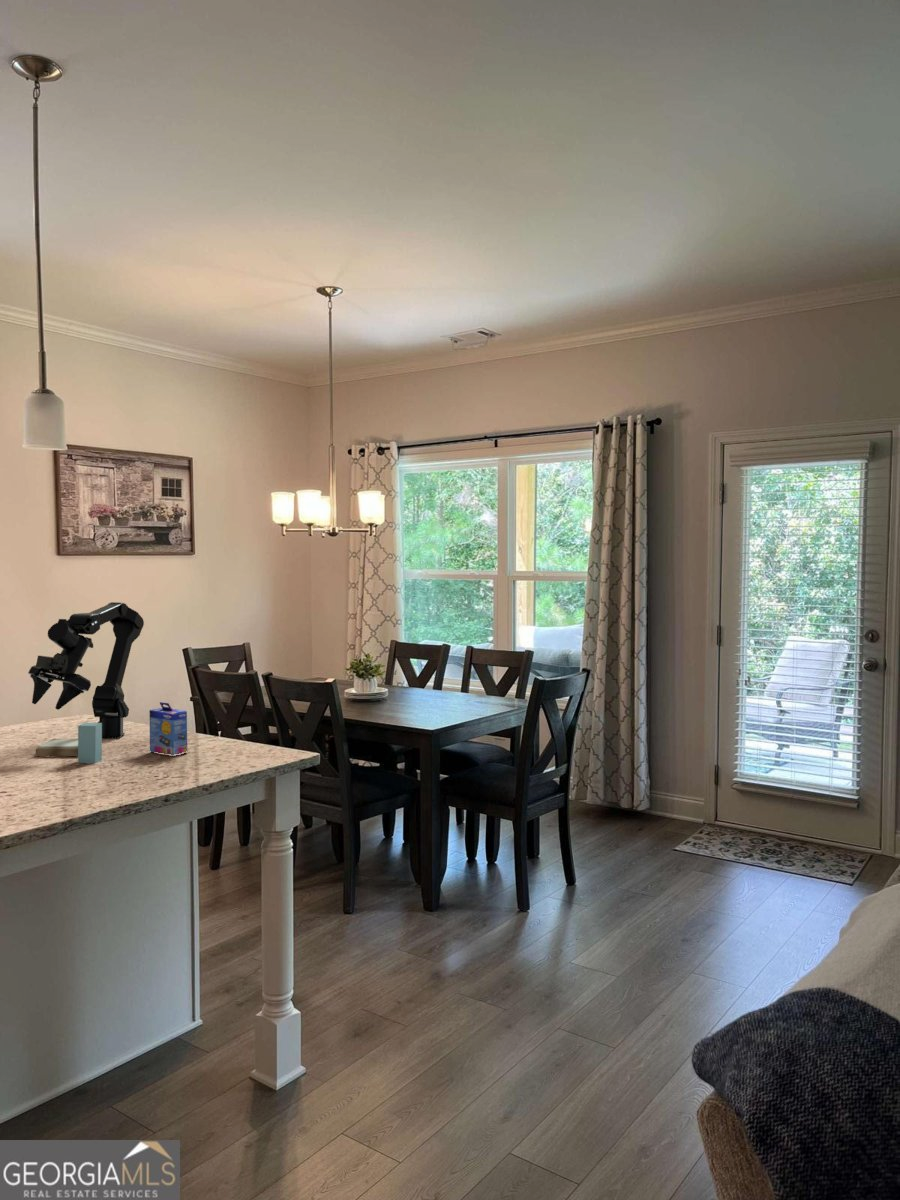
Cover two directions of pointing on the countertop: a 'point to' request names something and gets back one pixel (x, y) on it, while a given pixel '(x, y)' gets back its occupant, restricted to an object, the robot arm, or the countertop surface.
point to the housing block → (89, 742)
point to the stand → (58, 748)
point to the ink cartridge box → (168, 730)
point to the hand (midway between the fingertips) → (45, 706)
